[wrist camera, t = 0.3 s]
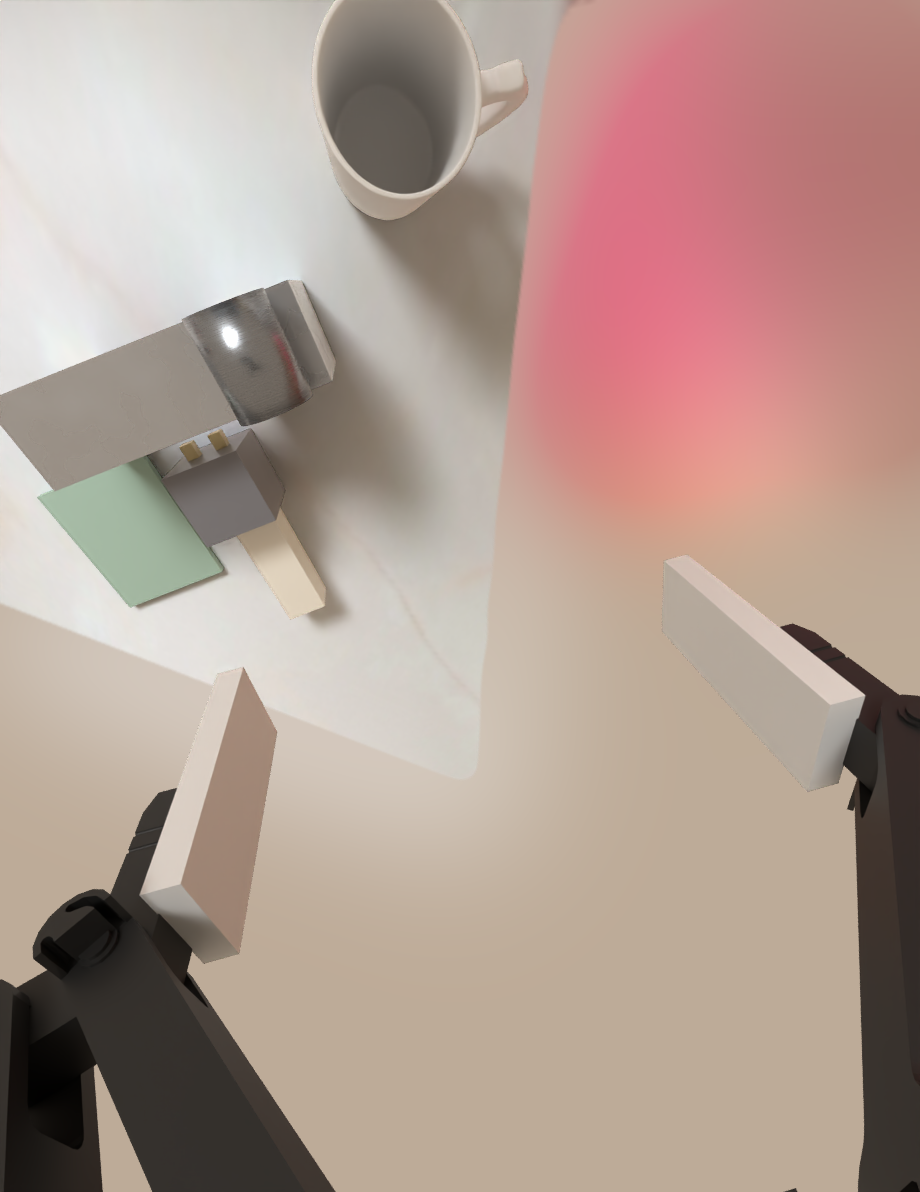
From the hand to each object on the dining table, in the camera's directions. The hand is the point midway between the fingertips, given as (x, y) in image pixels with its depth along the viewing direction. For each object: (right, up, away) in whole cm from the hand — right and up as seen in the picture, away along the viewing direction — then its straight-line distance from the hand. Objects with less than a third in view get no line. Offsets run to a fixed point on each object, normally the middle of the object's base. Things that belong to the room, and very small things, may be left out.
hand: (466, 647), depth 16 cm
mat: (-25, +6, +23) cm, 35 cm away
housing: (-17, +17, +19) cm, 31 cm away
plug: (-15, +8, +25) cm, 30 cm away
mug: (-3, +28, +15) cm, 32 cm away
